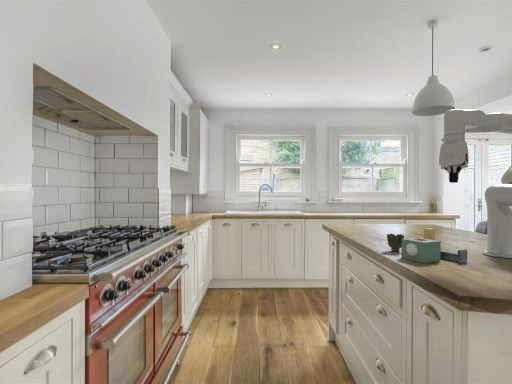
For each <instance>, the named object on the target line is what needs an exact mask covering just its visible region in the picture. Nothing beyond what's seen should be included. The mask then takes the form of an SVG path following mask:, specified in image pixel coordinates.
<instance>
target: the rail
mask: <svg viewBox="0 0 512 384" xmlns="http://www.w3.org/2000/svg"><path fill="white" fill-rule="evenodd" d="M441 259H442V260H447V261H452V262H456V263H459V264H464V263H468V249H465V248H464V249H457V252H452V251H447V250H442V249H440V260H441Z"/></svg>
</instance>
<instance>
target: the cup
mask: <svg viewBox="0 0 512 384" xmlns="http://www.w3.org/2000/svg"><path fill="white" fill-rule="evenodd" d="M386 238H387V245H388V247H390V248H391V249H390V250H391V252H393V253H399V252H400V249H402V239H405V235H404V234H402V233H400V234H399V233H397V234H395V233H386Z"/></svg>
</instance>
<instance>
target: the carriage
mask: <svg viewBox="0 0 512 384" xmlns="http://www.w3.org/2000/svg"><path fill="white" fill-rule="evenodd" d="M435 233H436V229H435V228H432V227H424V228H423V238H424V239H430V240H436V234H435Z"/></svg>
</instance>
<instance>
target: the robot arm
mask: <svg viewBox="0 0 512 384" xmlns="http://www.w3.org/2000/svg"><path fill="white" fill-rule="evenodd" d="M466 133H467V134H469V133H470V134H474V133H476V134H477V133H481V134H482V133H483V134H485V133H487V134H488V133H496V134H497V133H498V134H506V135H512V113H505V112H490V113H485V111H483V110H481V109H460V108H457V109H456V108H455V109H450V110H447V111H445V112H444V114H443V137H442V138H441V139H440V141H441V146H440V149H439V155H438V156H439V157H438V165H439V166H440V169H441V170H445V171H446V172H447V173H448V180H449V181H448V182H449V183H451V184H454V183H458V182H459V175H460V173H461V171H462V170H463V169H467V168H469V166H468V164H469V159H470V158H469V157H470V155H469V147H468V143H467V141H466ZM500 182H501V184H500V183H498V184H493V185H490V186H489V187H488V188H486V190H485V191H484V200H485V203H486V210H487V212H486V213H487V217H486V218H487V222H486V224H487V225H486V227H487V228H486V229H487V230H486V235H487V236H486V249H485V250H482V254H483V255H485V256H489V257H495V258H504V259H512V208H511V207H512V164H511V165H510V166H509V167H508V168H507V170H506V171H505V172H504V173H503V175H502V176H501V180H500Z"/></svg>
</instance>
